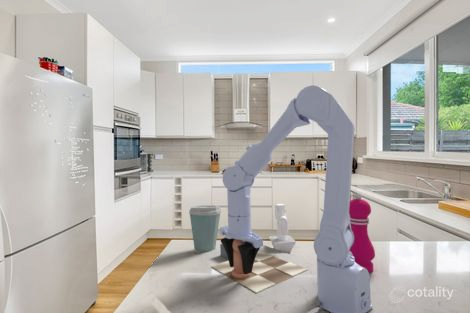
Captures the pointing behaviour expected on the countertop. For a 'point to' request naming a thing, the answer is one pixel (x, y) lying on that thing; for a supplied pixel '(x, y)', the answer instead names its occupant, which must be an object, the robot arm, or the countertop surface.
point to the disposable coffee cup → (204, 226)
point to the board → (263, 272)
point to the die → (223, 251)
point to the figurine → (282, 231)
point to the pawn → (238, 261)
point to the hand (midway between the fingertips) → (240, 269)
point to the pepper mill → (361, 232)
